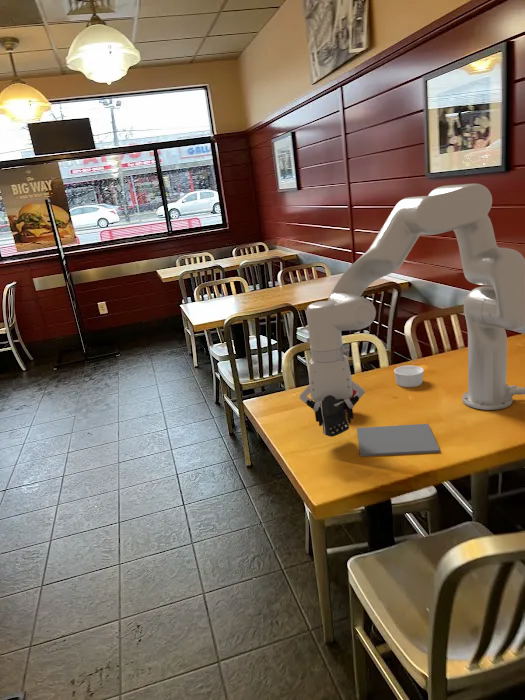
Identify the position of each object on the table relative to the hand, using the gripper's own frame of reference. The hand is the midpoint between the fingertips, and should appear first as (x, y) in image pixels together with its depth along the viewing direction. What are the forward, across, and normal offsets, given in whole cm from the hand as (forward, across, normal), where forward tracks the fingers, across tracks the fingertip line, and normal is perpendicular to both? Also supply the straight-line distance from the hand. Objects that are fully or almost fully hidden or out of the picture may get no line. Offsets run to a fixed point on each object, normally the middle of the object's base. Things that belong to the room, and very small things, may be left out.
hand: (334, 422), depth 128 cm
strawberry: (+6, -3, -18) cm, 19 cm away
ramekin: (+7, -23, -38) cm, 45 cm away
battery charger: (+3, 0, 0) cm, 3 cm away
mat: (+6, -14, 0) cm, 15 cm away
